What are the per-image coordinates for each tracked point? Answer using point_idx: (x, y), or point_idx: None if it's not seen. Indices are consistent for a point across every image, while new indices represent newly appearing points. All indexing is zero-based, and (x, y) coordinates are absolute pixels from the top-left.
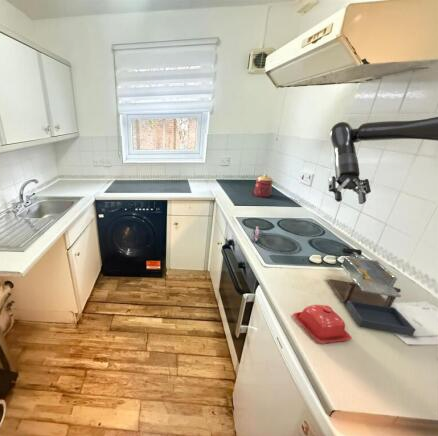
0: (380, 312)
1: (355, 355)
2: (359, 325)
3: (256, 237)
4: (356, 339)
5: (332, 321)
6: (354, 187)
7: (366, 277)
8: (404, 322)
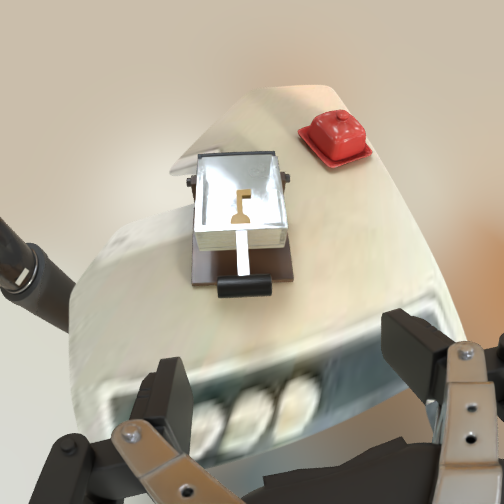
0: None
1: (297, 120)
2: None
3: None
4: (287, 139)
5: (333, 111)
6: (271, 478)
7: (246, 190)
8: None
